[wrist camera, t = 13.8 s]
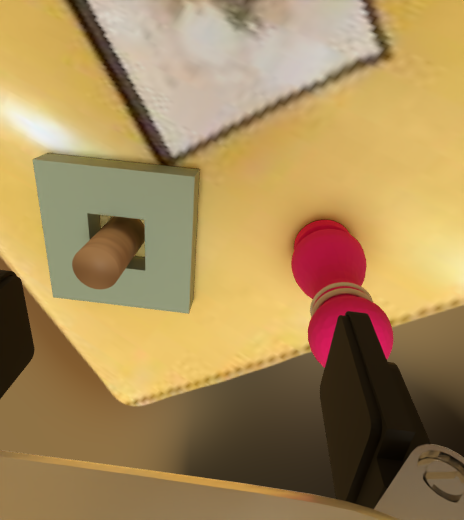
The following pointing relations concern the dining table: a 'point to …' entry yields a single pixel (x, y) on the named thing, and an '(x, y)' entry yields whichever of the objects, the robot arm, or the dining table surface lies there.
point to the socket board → (121, 205)
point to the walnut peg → (108, 252)
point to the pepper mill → (334, 284)
